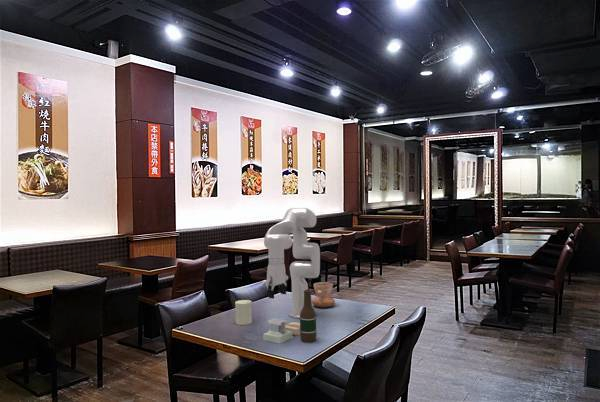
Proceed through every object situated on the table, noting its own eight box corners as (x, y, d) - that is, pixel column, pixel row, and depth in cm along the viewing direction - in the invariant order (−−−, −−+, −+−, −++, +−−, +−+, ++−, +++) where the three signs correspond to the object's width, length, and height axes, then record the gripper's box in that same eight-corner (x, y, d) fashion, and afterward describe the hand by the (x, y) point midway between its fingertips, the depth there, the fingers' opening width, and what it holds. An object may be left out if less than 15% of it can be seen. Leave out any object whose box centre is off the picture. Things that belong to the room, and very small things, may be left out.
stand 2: (292, 327, 229) (292, 321, 229) (308, 330, 223) (307, 324, 223) (280, 332, 220) (280, 326, 220) (296, 335, 215) (296, 329, 215)
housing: (274, 330, 215) (274, 318, 215) (287, 332, 210) (287, 320, 210) (268, 332, 211) (268, 320, 211) (281, 335, 206) (281, 322, 206)
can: (249, 325, 235) (248, 303, 235) (233, 324, 237) (232, 302, 237) (254, 320, 244) (253, 299, 244) (238, 319, 246) (238, 298, 246)
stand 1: (276, 334, 217) (276, 328, 217) (292, 337, 211) (292, 331, 211) (263, 340, 209) (263, 333, 209) (279, 343, 203) (279, 337, 203)
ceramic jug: (330, 310, 262) (330, 287, 263) (307, 308, 268) (307, 285, 268) (338, 304, 279) (338, 282, 279) (317, 302, 285) (317, 280, 285)
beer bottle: (299, 337, 211) (298, 288, 211) (315, 337, 212) (314, 288, 212) (301, 343, 203) (300, 292, 203) (317, 342, 204) (316, 291, 204)
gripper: (281, 258, 221) (281, 291, 221) (259, 263, 207) (260, 298, 207) (292, 259, 217) (293, 293, 217) (271, 264, 202) (272, 300, 203)
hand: (277, 296), depth 212 cm, fingers open, 9 cm apart
